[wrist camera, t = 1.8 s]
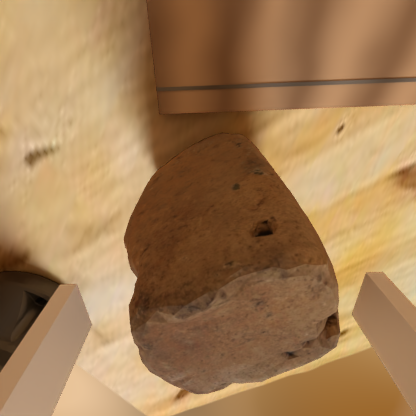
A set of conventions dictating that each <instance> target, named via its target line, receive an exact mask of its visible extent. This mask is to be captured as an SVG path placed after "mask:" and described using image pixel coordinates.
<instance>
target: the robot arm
mask: <svg viewBox="0 0 416 416" xmlns="http://www.w3.org/2000/svg"><path fill="white" fill-rule="evenodd" d="M352 315H353V317H354V319H355V320H356V322H357V323H358V325H359V326H360V328H361V330H362V331H363V333H364V334H365V336H366V338H367V339H368V341H369V342H370V344H371V346H372V347H373V349H374V350H375V352H376V354H377V355H378V357H379V358H380V360H381V361H382V363H383V365H384V366H385V368H386V369H387V371H388V373H389V374H390V376H391V378H392V379H393V381H394V382H395V384H396V385H397V387H398V389H399V390H400V392H401V393H402V395H403V397H404V398H405V400H406V401H407V403H408V405H409V406H410V408H411V409H412V411H413V412H414V414H415V416H416V307H415V306H414V305H413V304H412V303H411V302H410V301H409V300H408V299H407V298H406V297H405V295H404V294H403V293H402V292H401V291H400V290H399V289H398V288H397V287H396V286H395V285H394V283H393V282H392V281H391V280H390V279H389V278H388V277H387V276H386V275H385V274H384V273H383V272H368V273H366V274H365V277H364V280H363V283H362V286H361V289H360V292H359V295H358V298H357V300H356V303H355V306H354V309H353V312H352ZM91 326H92V323H91V321H90V318H89V315H88V313H87V310H86V307H85V304H84V302H83V299H82V296H81V294H80V291H79V288H78V286H77V284H63V285H58V284H57V283H55V282H53V281H51V280H49V279H46V278H44V277H41V276H38V275H35V274H30V273H25V272H17V271H5V272H0V416H52V414H53V412H54V409H55V407H56V405H57V403H58V400H59V398H60V396H61V394H62V391H63V389H64V387H65V384H66V382H67V380H68V378H69V375H70V373H71V371H72V369H73V366H74V364H75V362H76V360H77V357H78V355H79V353H80V351H81V348H82V346H83V344H84V342H85V339H86V337H87V335H88V332H89V330H90V328H91Z"/></svg>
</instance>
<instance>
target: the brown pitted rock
mask: <svg viewBox="0 0 416 416" xmlns="http://www.w3.org/2000/svg"><path fill="white" fill-rule="evenodd" d="M124 244H125V248H126V249H127V253H128V260H129V264H130V267H131V270H132V271H133V273H134V274H135V275H136V277H137V281H136V283H135V289H134V294H133V297H132V299H131V302H130V304H129V314H130V325H131V333H132V336H133V339H134V343H135V344H136V345H137V347H138V348H139V354H140V357H141V360H142V362H143V364H144V365H145V366H146V367H147V368H148V370H149V371H150V372H151V373H153V374H155V375H157V376H159V377H161V378H162V379H163V380H165V381H166V382H168V383H170V384H172V385H174V386H177V387H179V388H182V389H185V390H187V391H189V392H191V393H195V394H208V393H211V392H215V391H218V390H221V389H224V388H225V387H227V386H229V385H230V384H232V383H252V382H262V381H264V380H266V379H269V378H271V377H273V376H276V375H279V374H281V373H284V372H286V371H289V370H292V369H295V368H298V367H300V366H303V365H305V364H307V363H309V362H312V361H314V360H316V359H319V358H321V357H322V356H324V355H325V354H326V353H328V352H329V351H331V350H332V349H334V348H335V347H336V346H337V343H338V339H339V336H340V327H339V316H338V309H337V308H338V303H339V295H338V283H337V279H336V276H335V272H334V269H333V265H332V263H331V261H330V259H329V257H328V255H327V252H326V250H325V248H324V246H323V244H322V242H321V240H320V237H319V236H318V234H317V232H316V231H315V229H314V227H313V226H312V224H311V222H310V221H309V219H308V217H307V216H306V214H305V213H304V212H303V210H302V209H301V207H300V206H299V204H298V202H297V201H296V199H295V198H294V196H293V195H292V193H291V192H290V190H289V189H288V188H287V187H286V185H285V184H284V183H283V181H282V180H281V179H280V177H279V176H278V175H277V173H276V172H275V171H274V169H273V168H272V166H271V165H270V164H269V163H268V161H267V160H266V158H265V157H264V156H263V155H262V154H261V152H260V151H259V149H258V148H257V147H256V146H255V145H254V144H253V143H252V142H250V141H249V140H248V139H247V138H246V137H245V136H243V135H241V134H229V133H220V134H217V135H214V136H211V137H209V138H206V139H204V140H202V141H200V142H198V143H195V144H194V145H192V146H191V147H189V148H187V149H185V150H184V151H183V152H181V153H180V154H179V155H177V156H176V157H174V158H173V159H172V160H170V161H169V162H168V163H167V164H166V165H164V166H163V167H161V168H160V169H158V170H157V172H156V173H155V174H154V175H153V176H152V177H151V179H150V181H149V182H148V183H147V185H146V187H145V189H144V191H143V193H142V195H141V197H140V199H139V201H138V203H137V205H136V207H135V209H134V211H133V213H132V215H131V217H130V220H129V223H128V226H127V229H126V233H125V236H124Z"/></svg>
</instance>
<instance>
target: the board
mask: <svg viewBox="0 0 416 416" xmlns="http://www.w3.org/2000/svg"><path fill="white" fill-rule="evenodd" d="M147 9H148V18H149V26H150V35H151V44H152V52H153V61H154V70H155V79H156V89H157V96H158V105H159V113H160V114H180V113H206V112H232V111H258V110H284V109H310V108H336V107H362V106H388V105H414V104H416V0H147Z"/></svg>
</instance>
